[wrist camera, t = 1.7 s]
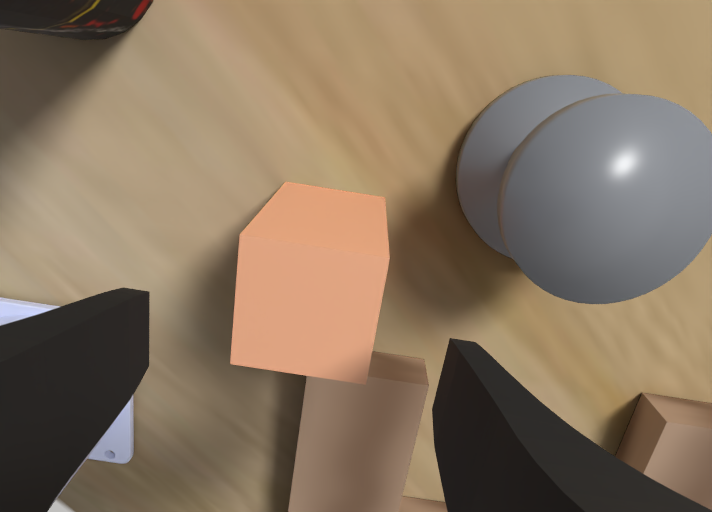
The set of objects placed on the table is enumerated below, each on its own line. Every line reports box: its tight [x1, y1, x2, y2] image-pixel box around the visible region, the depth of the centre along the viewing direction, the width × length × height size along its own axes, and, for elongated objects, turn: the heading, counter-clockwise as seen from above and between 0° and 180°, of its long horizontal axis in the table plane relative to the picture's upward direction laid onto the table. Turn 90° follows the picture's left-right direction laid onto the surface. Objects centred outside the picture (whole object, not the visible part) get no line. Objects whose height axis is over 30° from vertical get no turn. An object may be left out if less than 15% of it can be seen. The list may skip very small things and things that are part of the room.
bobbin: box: [456, 75, 712, 304], centre depth 16 cm, size 7×7×6 cm
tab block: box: [230, 182, 390, 385], centre depth 17 cm, size 4×4×7 cm
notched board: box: [288, 351, 712, 512], centre depth 23 cm, size 20×12×2 cm, turn 81°
